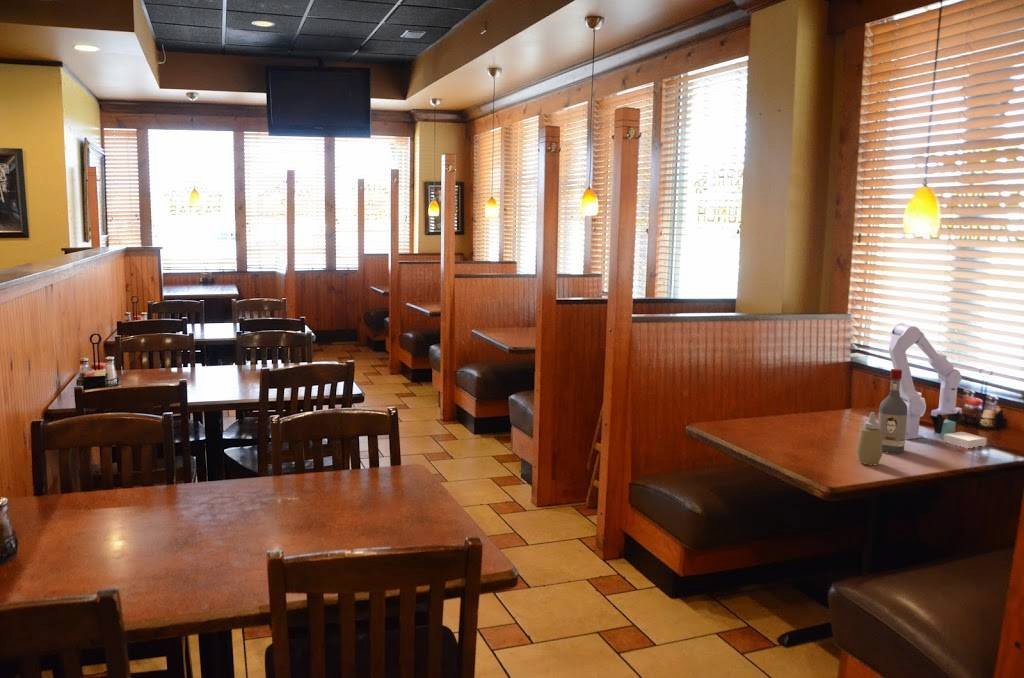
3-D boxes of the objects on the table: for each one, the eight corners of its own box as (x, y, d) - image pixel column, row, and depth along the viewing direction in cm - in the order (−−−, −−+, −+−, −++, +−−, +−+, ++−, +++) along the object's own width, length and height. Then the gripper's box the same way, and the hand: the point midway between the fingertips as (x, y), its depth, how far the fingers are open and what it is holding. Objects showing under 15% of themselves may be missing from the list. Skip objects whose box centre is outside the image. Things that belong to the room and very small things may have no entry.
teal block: (945, 438, 311) (946, 423, 310) (934, 435, 315) (935, 420, 315) (954, 437, 313) (955, 422, 312) (943, 433, 317) (944, 419, 317)
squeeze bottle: (884, 463, 278) (889, 412, 275) (877, 468, 272) (881, 416, 269) (860, 458, 283) (864, 408, 280) (852, 463, 277) (856, 412, 274)
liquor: (877, 445, 299) (883, 366, 295) (904, 449, 295) (910, 369, 291) (875, 451, 291) (881, 370, 287) (903, 455, 287) (910, 373, 283)
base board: (967, 448, 296) (968, 440, 296) (943, 441, 306) (944, 434, 305) (985, 445, 300) (986, 438, 300) (961, 439, 309) (962, 431, 309)
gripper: (943, 402, 305) (940, 436, 307) (970, 399, 311) (966, 433, 313) (927, 398, 312) (924, 432, 314) (953, 395, 318) (950, 428, 320)
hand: (944, 432), depth 314 cm, fingers open, 7 cm apart
